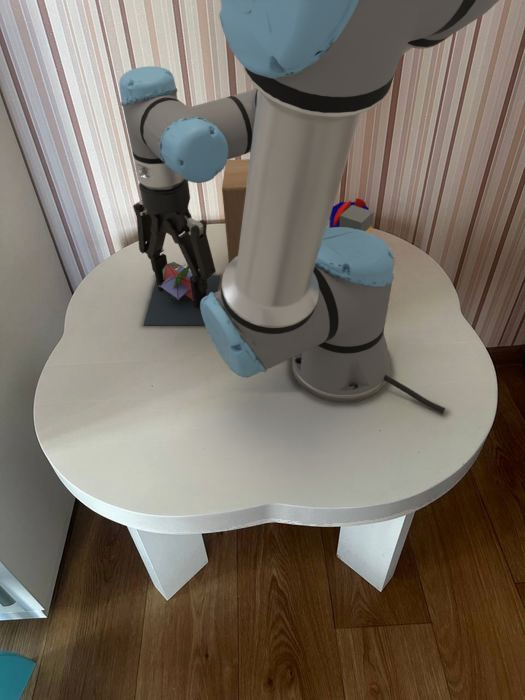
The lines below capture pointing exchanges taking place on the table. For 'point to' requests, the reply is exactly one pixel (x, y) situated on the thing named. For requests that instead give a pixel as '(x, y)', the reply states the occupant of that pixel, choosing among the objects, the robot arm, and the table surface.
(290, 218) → the robot arm
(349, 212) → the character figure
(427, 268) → the table surface
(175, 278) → the geometric puzzle
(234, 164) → the wooden block
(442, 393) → the table surface
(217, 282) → the mat
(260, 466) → the table surface
